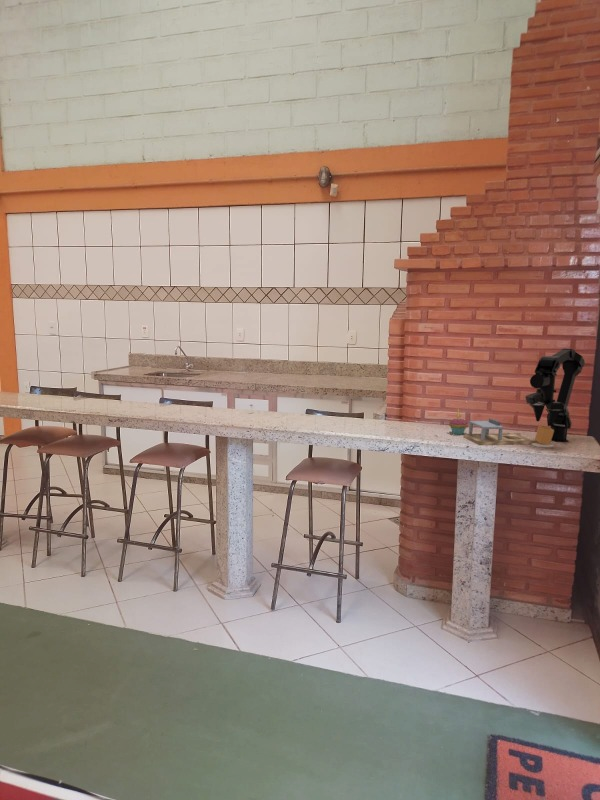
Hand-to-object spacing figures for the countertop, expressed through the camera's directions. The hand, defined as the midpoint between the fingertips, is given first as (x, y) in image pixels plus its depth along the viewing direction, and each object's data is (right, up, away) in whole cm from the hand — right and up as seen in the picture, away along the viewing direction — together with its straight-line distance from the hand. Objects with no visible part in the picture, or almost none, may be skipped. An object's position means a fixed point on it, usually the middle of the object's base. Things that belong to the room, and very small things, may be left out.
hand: (543, 423), depth 244 cm
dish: (0, -10, +2) cm, 10 cm away
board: (-16, -8, +8) cm, 20 cm away
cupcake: (-30, -6, +22) cm, 38 cm away
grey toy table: (-23, -6, +7) cm, 25 cm away
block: (0, -8, +1) cm, 8 cm away
